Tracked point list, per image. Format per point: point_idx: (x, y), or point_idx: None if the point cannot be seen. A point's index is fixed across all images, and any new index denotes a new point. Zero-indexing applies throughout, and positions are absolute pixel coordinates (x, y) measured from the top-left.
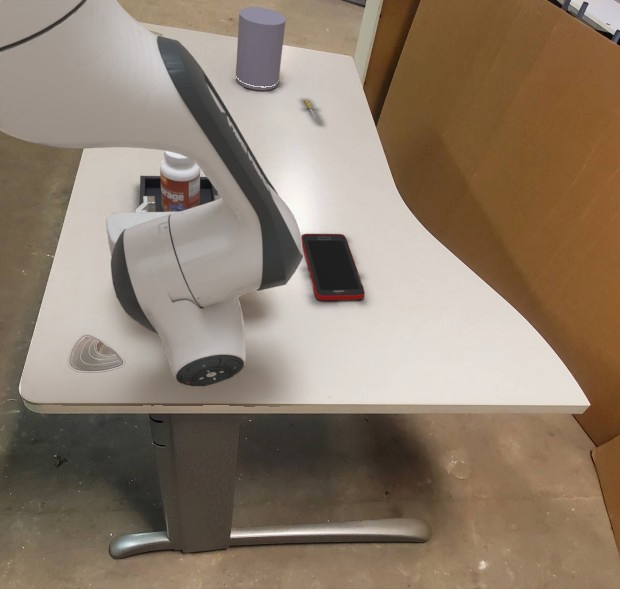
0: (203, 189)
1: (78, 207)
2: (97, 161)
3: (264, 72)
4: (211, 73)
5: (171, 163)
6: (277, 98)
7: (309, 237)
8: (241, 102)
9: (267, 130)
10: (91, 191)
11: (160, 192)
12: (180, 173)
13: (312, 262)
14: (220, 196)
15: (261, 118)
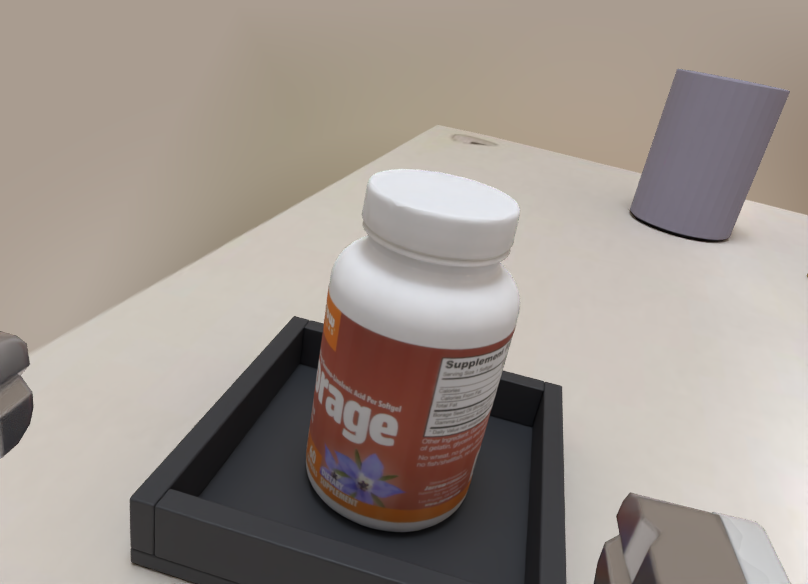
0: (504, 422)
1: None
2: (223, 268)
3: (710, 196)
4: (577, 196)
5: (380, 240)
6: (733, 257)
7: None
8: (643, 246)
9: (721, 310)
10: (126, 331)
11: None
12: (410, 299)
13: None
14: (717, 530)
15: (698, 283)
